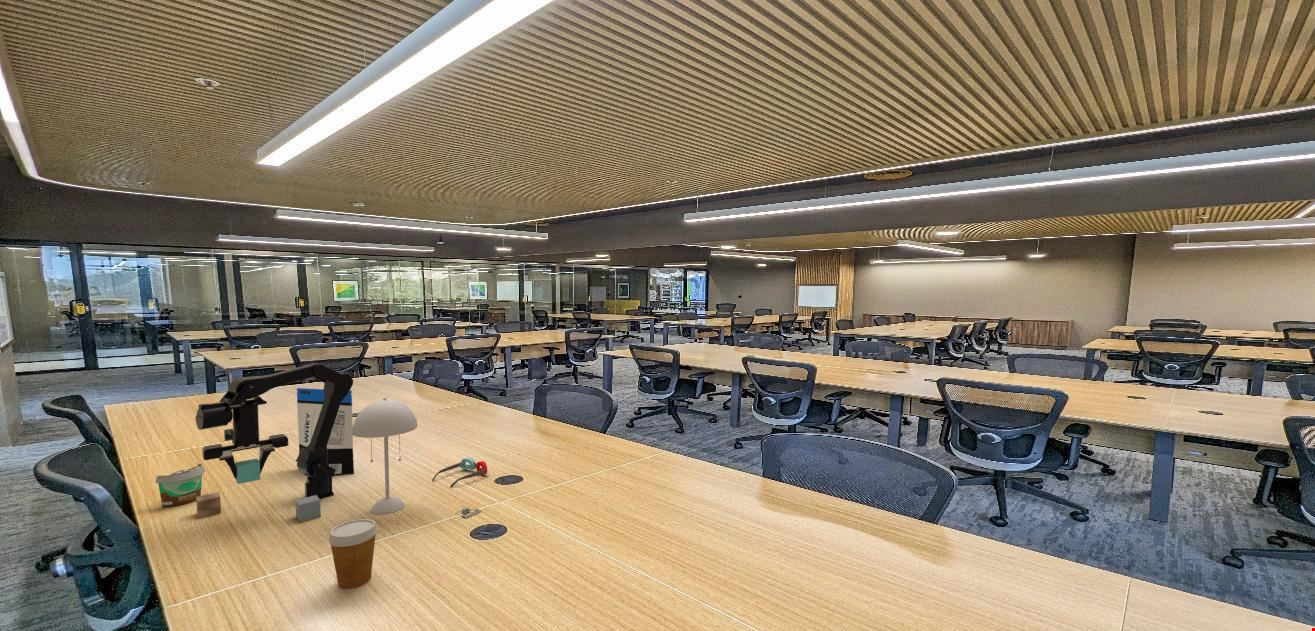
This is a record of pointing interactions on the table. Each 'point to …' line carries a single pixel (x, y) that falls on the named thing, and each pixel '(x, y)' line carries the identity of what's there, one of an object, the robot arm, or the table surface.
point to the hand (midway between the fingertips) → (247, 475)
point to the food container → (180, 486)
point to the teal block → (247, 470)
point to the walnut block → (208, 505)
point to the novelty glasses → (465, 467)
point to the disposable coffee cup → (353, 551)
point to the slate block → (308, 508)
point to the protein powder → (341, 431)
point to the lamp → (385, 438)
